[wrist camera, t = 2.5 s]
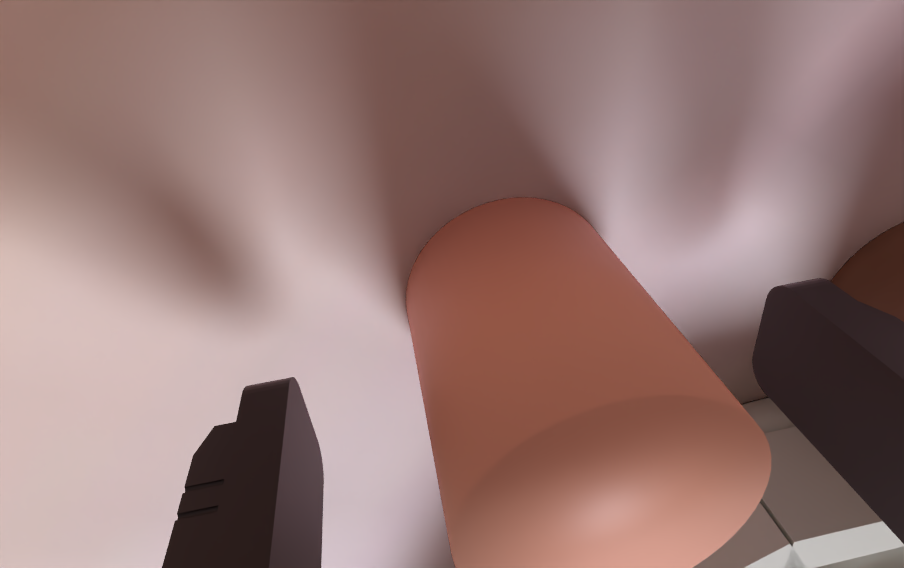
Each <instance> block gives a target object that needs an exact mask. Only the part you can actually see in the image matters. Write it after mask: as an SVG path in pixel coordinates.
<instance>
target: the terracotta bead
mask: <svg viewBox="0 0 904 568" xmlns="http://www.w3.org/2000/svg"><path fill="white" fill-rule="evenodd" d="M406 307H407V315H408V320H409V325H410V331H411V336H412V342H413V347H414V353H415V358H416V364H417V369H418V375H419V380H420V386H421V391H422V396H423V402H424V407H425V413H426V418H427V424H428V429H429V435H430V440H431V446H432V451H433V456H434V462H435V467H436V473H437V478H438V484H439V489H440V495H441V500H442V506H443V511H444V517H445V522H446V527H447V533H448V538H449V544H450V549H451V555H452V558H453V561H454V565H455V567H456V568H693V567H694V566H696V565H697V564H699V563H700V562H702V561H703V560H705V559H706V558H708V557H709V556H710V555H711V554H713V553H714V552H715V551H717V550H718V549H719V548H720V547H722V546H723V545H724V544H725V543H726V542H727V541H728V540H729V539H730V538H731V537H733V536H734V535H735V534H736V532H737V531H738V530H739V529H740V528H741V527H742V526H743V525H744V524H745V523H746V521H747V520H748V519H749V517H750V516H751V514H752V513H753V512H754V510H755V509H756V507H757V505H758V504H759V502H760V500H761V499H762V497H763V494H764V492H765V489H766V487H767V485H768V481H769V477H770V472H771V451H770V446H769V443H768V441H767V438H766V436H765V434H764V432H763V431H762V429H761V428H760V427H759V426H758V424H757V423H756V422H755V421H754V419H753V418H752V417H751V416H750V415H749V413H748V412H747V411H746V410H745V409H744V407H743V406H742V405H741V404H740V403H739V401H738V400H737V399H736V398H735V397H734V396H733V394H732V393H731V392H730V391H729V390H728V388H727V387H726V386H725V385H724V384H723V382H722V381H721V380H720V379H719V378H718V376H717V375H716V374H715V373H714V372H713V370H712V369H711V368H710V367H709V366H708V364H707V363H706V362H705V361H704V360H703V359H702V357H701V356H700V355H699V354H698V353H697V351H696V350H695V349H694V348H693V347H692V345H691V344H690V343H689V342H688V341H687V339H686V338H685V337H684V336H683V335H682V333H681V332H680V331H679V330H678V329H677V327H676V326H675V325H674V324H673V323H672V322H671V320H670V319H669V318H668V317H667V316H666V314H665V313H664V312H663V311H662V310H661V308H660V307H659V306H658V305H657V304H656V302H655V301H654V300H653V299H652V298H651V296H650V295H649V294H648V293H647V292H646V290H645V289H644V288H643V287H642V286H641V285H640V283H639V282H638V281H637V280H636V279H635V277H634V276H633V275H632V274H631V273H630V271H629V270H628V269H627V268H626V267H625V265H624V264H623V263H622V262H621V261H620V259H619V258H618V257H617V256H616V255H615V254H614V252H613V251H612V250H611V249H610V248H609V246H608V245H607V244H606V243H605V242H604V240H603V239H602V238H601V237H600V236H599V234H598V233H597V232H596V231H595V230H594V228H593V227H592V226H591V225H590V224H589V223H588V222H587V221H586V220H585V219H584V218H583V217H582V216H581V215H579V214H578V213H576V212H575V211H573V210H572V209H570V208H568V207H566V206H563V205H561V204H559V203H556V202H552V201H549V200H545V199H538V198H529V197H516V198H507V199H501V200H497V201H492V202H488V203H486V204H483V205H480V206H477V207H475V208H472V209H471V210H469V211H467V212H465V213H463V214H461V215H459V216H458V217H456V218H455V219H453V220H452V221H450V222H448V223H447V224H446V225H445V226H444V227H443V228H441V229H440V230H439V231H438V232H437V233H436V234H435V235H434V236H433V237H432V238H431V239H430V240H429V241H428V243H427V244H426V245H425V247H424V248H423V249H422V251H421V252H420V254H419V256H418V257H417V259H416V261H415V263H414V265H413V268H412V270H411V273H410V276H409V279H408V284H407V289H406Z"/></svg>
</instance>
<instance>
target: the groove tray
mask: <svg viewBox="0 0 904 568" xmlns="http://www.w3.org/2000/svg"><path fill="white" fill-rule="evenodd" d="M742 406H743V407H744V409H745V410H746V411H747V412H748V413H749V415H750V416H751V417H752V418H753V419H754V421H755V422H756V423H757V424H758V426H759V427H760V428H761V429H762V431H763V432H764V434H765V436H766V438H767V441H768V443H769V446H770V451H771V472H770V477H769V481H768V485H767V487H766V489H765V492H764V494H763V497H762V499H761V500H760V502H759V504H758V505H757V507H756V509H755V510H754V512H753V513H752V514H751V516H750V517H749V519H748V520H747V521H746V523H745V524H744V525H743V526H742V527H741V528H740V529H739V530H738V531H737V532H736V534H735V535H734V536H733V537H731V538H730V539H729V540H728V541H727V542H726V543H725V544H724V545H723V546H722V547H720V548H719V549H718V550H717V551H715V552H714V553H713V554H711V555H710V556H709V557H708V558H706V559H705V560H703V561H702V562H700V563H699V564H697V565H696V566H694V567H693V568H904V544H903V543H902V542H901V541H900V540H899V538H898V537H897V536H896V535H895V534H894V533H893V532H892V531H891V530H890V529H889V528H888V526H887V525H886V524H885V523H884V522H883V521H882V520H881V519H880V518H879V517H878V516H877V514H876V513H875V512H874V511H873V510H872V509H871V508H870V507H869V506H868V505H867V504H866V503H865V501H864V500H863V499H862V498H861V497H860V496H859V495H858V494H857V493H856V492H855V491H854V489H853V488H852V487H851V486H850V485H849V484H848V483H847V482H846V481H845V480H844V479H843V477H842V476H841V475H840V474H839V473H838V472H837V471H836V470H835V469H834V468H833V467H832V465H831V464H830V463H829V462H828V461H827V460H826V459H825V458H824V457H823V456H822V455H821V454H820V452H819V451H818V450H817V449H816V448H815V447H814V446H813V445H812V444H811V443H810V442H809V440H808V439H807V438H806V437H805V436H804V435H803V434H802V433H801V432H800V431H799V430H798V428H797V427H796V426H795V425H794V424H793V423H792V422H791V421H790V420H789V419H788V418H787V416H786V415H785V414H784V413H783V412H782V411H781V410H780V409H779V408H778V407H777V406H776V405H775V403H774V402H773V401H772V400H771V399H770V398H765V399H762V400H758V401H754V402H750V403H746V404H743V405H742Z"/></svg>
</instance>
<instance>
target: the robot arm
mask: <svg viewBox="0 0 904 568" xmlns="http://www.w3.org/2000/svg"><path fill="white" fill-rule="evenodd" d="M752 363H753V370H754V374H755V377H756V379H757V382H758V384H759V386H760V387H761V389H762V390H763V391H764V392H765V394H766V395H767V396H768V397H769V398H770V399H771V400H772V401H773V402H774V403H775V405H776V406H777V407H778V408H779V409H780V410H781V411H782V412H783V413H784V414H785V415H786V416H787V418H788V419H789V420H790V421H791V422H792V423H793V424H794V425H795V426H796V427H797V428H798V430H799V431H800V432H801V433H802V434H803V435H804V436H805V437H806V438H807V439H808V440H809V442H810V443H811V444H812V445H813V446H814V447H815V448H816V449H817V450H818V451H819V452H820V454H821V455H822V456H823V457H824V458H825V459H826V460H827V461H828V462H829V463H830V464H831V465H832V467H833V468H834V469H835V470H836V471H837V472H838V473H839V474H840V475H841V476H842V477H843V479H844V480H845V481H846V482H847V483H848V484H849V485H850V486H851V487H852V488H853V489H854V491H855V492H856V493H857V494H858V495H859V496H860V497H861V498H862V499H863V500H864V501H865V503H866V504H867V505H868V506H869V507H870V508H871V509H872V510H873V511H874V512H875V513H876V514H877V516H878V517H879V518H880V519H881V520H882V521H883V522H884V523H885V524H886V525H887V526H888V528H889V529H890V530H891V531H892V532H893V533H894V534H895V535H896V536H897V537H898V538H899V540H900V541H901V542H902V543H903V544H904V322H903V321H901V320H900V319H898V318H897V317H895V316H893V315H890V314H888V313H886V312H883V311H881V310H878V309H876V308H874V307H871V306H869V305H867V304H864V303H862V302H858V301H857V300H856V299H854V298H853V297H851V296H850V295H849V294H847V293H846V292H844V291H843V290H842V289H840V288H839V287H837V286H836V285H835V284H833V283H832V282H830V281H828V280H826V279H821V278H819V279H812V280H807V281H802V282H797V283H791V284H786V285H781V286H777V287H774V288H773V289H771V291H770V292H769V293H768V295H767V298H766V302H765V306H764V310H763V314H762V319H761V323H760V327H759V331H758V336H757V340H756V344H755V348H754V352H753V358H752ZM323 484H324V477H323V464H322V457H321V452H320V447H319V443H318V440H317V437H316V434H315V431H314V428H313V425H312V422H311V419H310V417H309V414H308V411H307V408H306V405H305V402H304V399H303V396H302V393H301V390H300V387H299V385H298V382H297V381H296V379H295V378H294V377H291V378H286V379H281V380H276V381H270V382H265V383H260V384H255V385H249V386H246V387H245V388H244V390H243V393H242V397H241V401H240V406H239V411H238V416H237V420H236V422H233V423H228V424H223V425H218V426H214V428H213V429H212V430H211V432H210V433H209V435H208V436H207V437H206V439H205V440H204V441H203V443H202V444H201V446H200V447H199V448H198V450H197V451H196V452H195V454H194V455H193V458H192V462H191V466H190V469H189V473H188V476H187V480H186V484H185V493H183V494H182V498H181V502H180V505H179V509H178V512H177V515H178V520H176V521H175V523H174V527H173V530H172V534H171V538H170V541H169V545H168V548H167V552H166V556H165V559H164V563H163V566H162V568H321V554H322V519H323Z"/></svg>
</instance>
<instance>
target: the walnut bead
mask: <svg viewBox="0 0 904 568" xmlns="http://www.w3.org/2000/svg"><path fill="white" fill-rule="evenodd" d="M831 282H832V283H833V284H835V285H836V286H837V287H839V288H840V289H842V290H843V291H844V292H846V293H847V294H849V295H850V296H851V297H853V298H854V299H856V300H857V301H858V302H862V303H864V304H867V305H869V306H871V307H874V308H876V309H878V310H881V311H883V312H886V313H888V314H890V315H893V316H895V317H897V318H898V319H900V320H901V321H903V322H904V222H903V223H901V224H899V225H896V226H894V227H892V228H891V229H889V230H887V231H885V232H884V233H882V234H880V235H879V236H877V237H876V238H875V239H873V240H872V241H870V242H869V243H868V244H866V245H865V246H864V247H863V248H861V249H860V250H859V251H858V252H857V253H856V254H855V255H853V256H852V257H851V258H850V259H849V260H848V261H847V262H846V263H845V265H844V266H843V267H842V268H841V269H840V270H839V271H838V273H837V274H836V275H835V276H834V278H833V279H832V281H831Z"/></svg>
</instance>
